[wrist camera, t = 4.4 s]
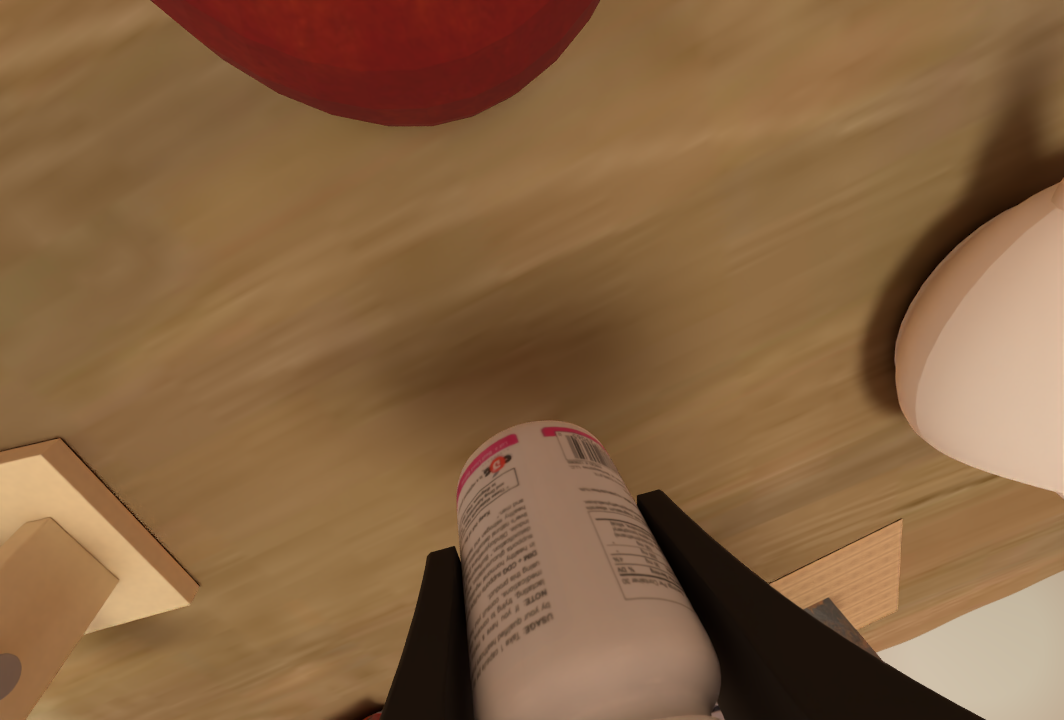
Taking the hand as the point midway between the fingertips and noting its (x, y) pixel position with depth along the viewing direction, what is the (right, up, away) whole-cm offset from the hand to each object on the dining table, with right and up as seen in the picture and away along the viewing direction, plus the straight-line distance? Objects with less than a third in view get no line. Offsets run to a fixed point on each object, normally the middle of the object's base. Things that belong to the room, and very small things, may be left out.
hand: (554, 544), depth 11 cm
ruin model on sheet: (+21, -20, +27) cm, 39 cm away
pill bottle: (-1, +1, +2) cm, 3 cm away
